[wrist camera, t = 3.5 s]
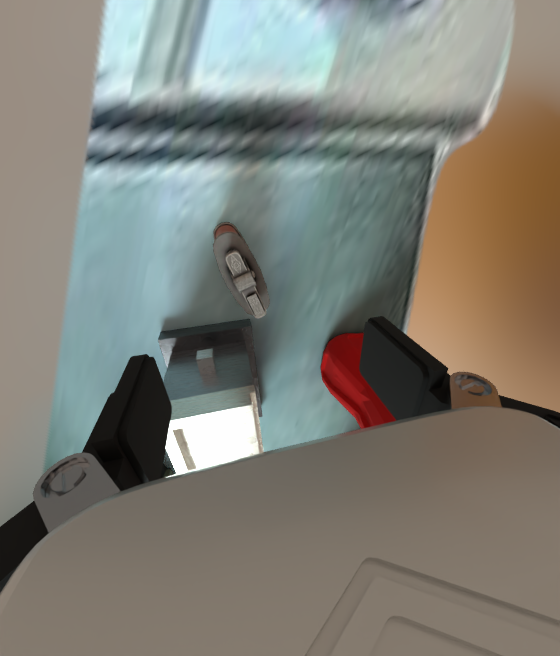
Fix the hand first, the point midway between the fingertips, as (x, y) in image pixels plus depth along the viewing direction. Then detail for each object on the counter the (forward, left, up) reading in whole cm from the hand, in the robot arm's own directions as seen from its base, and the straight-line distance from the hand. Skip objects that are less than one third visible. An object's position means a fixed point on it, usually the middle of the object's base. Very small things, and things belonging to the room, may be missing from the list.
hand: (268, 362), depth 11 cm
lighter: (0, 0, -21) cm, 21 cm away
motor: (+5, +16, -21) cm, 27 cm away
